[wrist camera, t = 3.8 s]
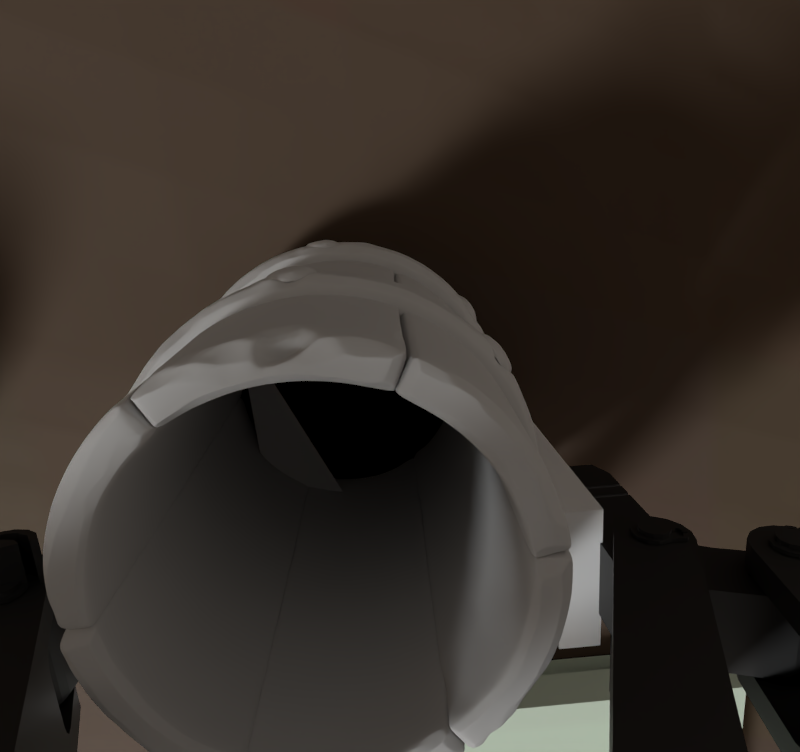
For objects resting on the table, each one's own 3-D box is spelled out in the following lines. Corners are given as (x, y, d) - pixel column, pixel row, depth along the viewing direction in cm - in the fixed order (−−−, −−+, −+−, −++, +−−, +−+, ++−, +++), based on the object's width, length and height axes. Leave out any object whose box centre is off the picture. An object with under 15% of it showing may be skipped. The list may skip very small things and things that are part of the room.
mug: (456, 209, 15) (703, 181, 4) (524, 592, 19) (776, 1212, 7) (172, 271, 16) (-413, 425, 4) (287, 642, 19) (146, 1338, 7)
